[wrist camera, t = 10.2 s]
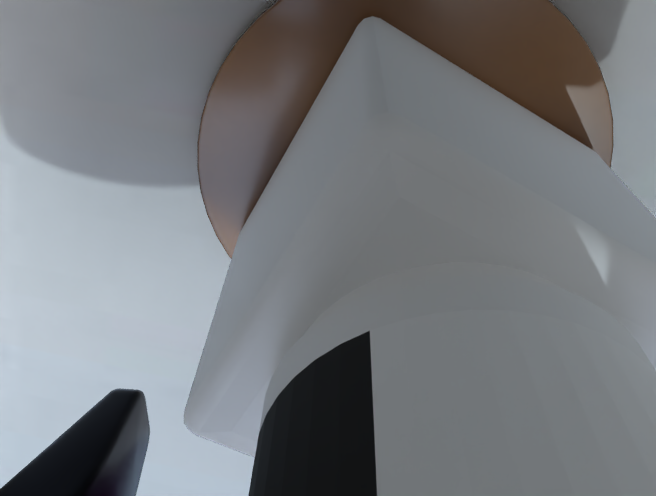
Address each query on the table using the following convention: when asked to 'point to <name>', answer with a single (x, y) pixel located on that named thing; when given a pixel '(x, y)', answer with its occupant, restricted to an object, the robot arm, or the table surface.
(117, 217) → the table surface
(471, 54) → the cork coaster
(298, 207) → the medicine bottle
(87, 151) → the table surface
